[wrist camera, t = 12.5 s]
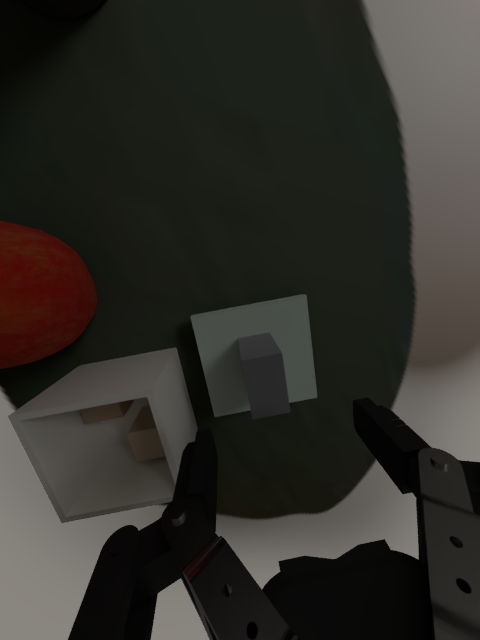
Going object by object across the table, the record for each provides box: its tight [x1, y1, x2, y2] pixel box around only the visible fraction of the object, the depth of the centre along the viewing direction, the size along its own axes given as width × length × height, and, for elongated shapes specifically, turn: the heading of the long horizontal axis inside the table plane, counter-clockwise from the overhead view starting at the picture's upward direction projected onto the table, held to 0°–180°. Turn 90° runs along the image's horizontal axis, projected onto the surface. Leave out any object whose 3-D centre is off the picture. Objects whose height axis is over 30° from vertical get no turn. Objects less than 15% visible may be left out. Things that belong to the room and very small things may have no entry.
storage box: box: [9, 348, 198, 523], centre depth 21 cm, size 10×10×8 cm
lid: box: [191, 294, 317, 419], centre depth 21 cm, size 11×11×7 cm
